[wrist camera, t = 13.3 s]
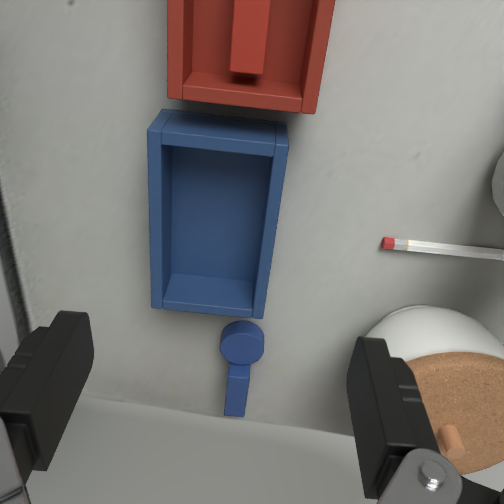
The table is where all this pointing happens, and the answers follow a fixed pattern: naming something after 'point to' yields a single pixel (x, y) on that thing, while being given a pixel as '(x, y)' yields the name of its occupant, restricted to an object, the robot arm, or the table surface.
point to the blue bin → (213, 210)
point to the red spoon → (249, 36)
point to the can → (499, 185)
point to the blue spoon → (240, 362)
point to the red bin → (276, 58)
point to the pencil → (442, 248)
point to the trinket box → (453, 380)
